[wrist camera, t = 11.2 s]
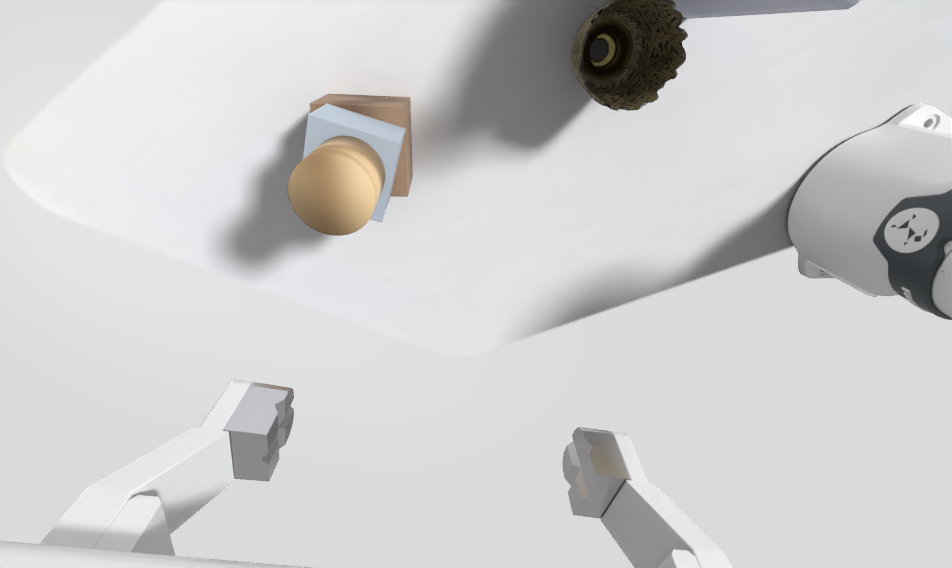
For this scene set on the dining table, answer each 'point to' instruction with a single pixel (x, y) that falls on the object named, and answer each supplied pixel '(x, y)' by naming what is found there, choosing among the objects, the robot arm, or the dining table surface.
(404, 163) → the tower base
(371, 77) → the dining table surface
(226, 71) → the dining table surface
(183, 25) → the dining table surface
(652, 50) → the cup
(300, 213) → the beech cylinder
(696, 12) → the soap bottle
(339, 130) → the tower top block
